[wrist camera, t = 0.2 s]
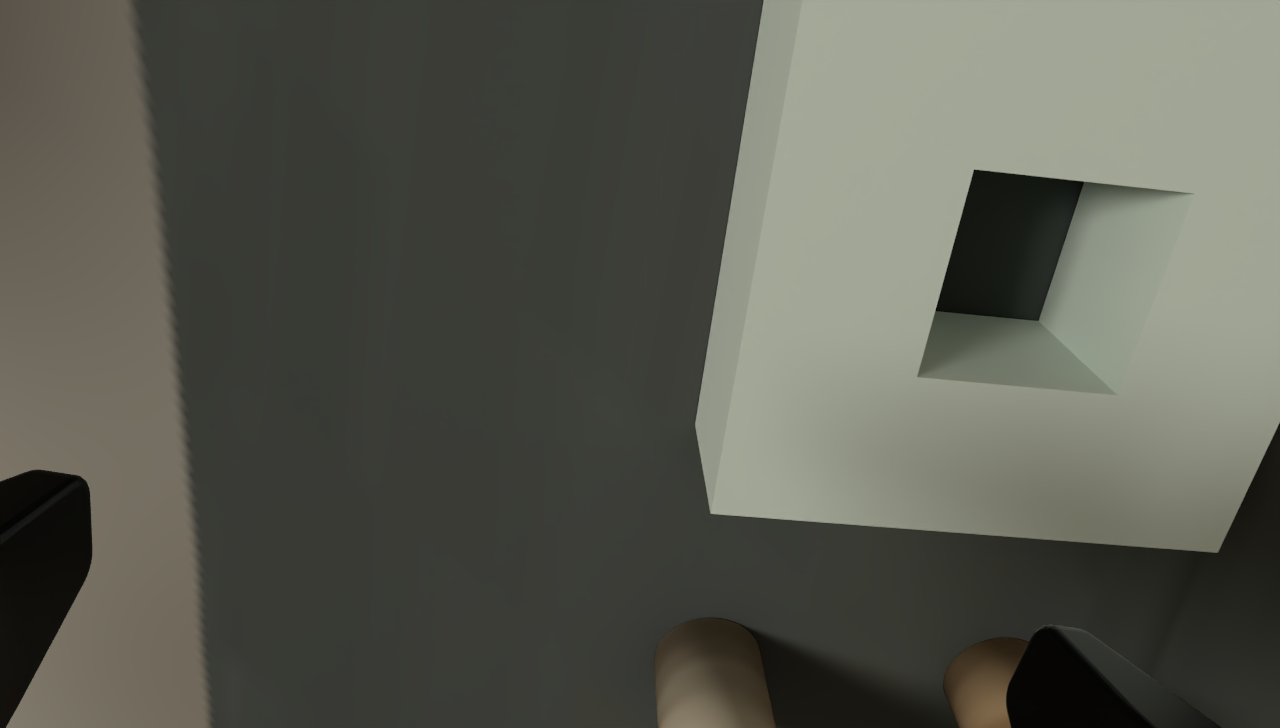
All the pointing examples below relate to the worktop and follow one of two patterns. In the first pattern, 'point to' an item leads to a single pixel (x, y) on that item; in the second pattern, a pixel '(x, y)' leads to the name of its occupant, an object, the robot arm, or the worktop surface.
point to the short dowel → (983, 682)
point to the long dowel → (711, 677)
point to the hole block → (993, 346)
